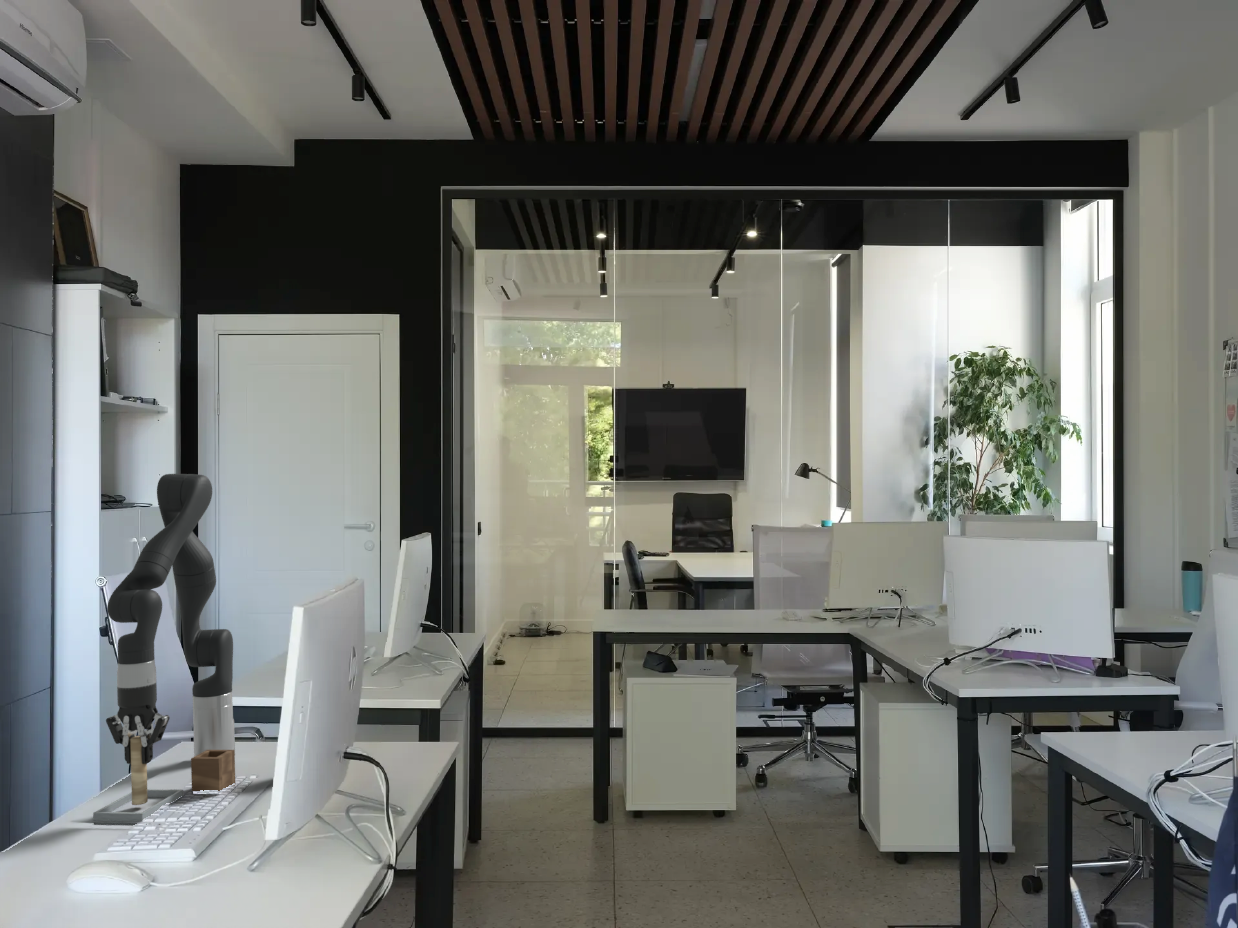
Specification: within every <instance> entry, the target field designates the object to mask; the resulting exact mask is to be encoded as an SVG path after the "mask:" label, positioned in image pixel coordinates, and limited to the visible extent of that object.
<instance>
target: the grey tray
mask: <svg viewBox="0 0 1238 928" xmlns="http://www.w3.org/2000/svg"><path fill="white" fill-rule="evenodd" d="M181 796H183V797H184V789H175V788H174V789H168V788H167V789H164V788H162V789H161V788H160V789H157V788H152V789H151V788H147V797H148V798H164V799H162V800H160V801H159V802H157V803H156V804H154V805H152V806H150V807H148V808H147V809H145V810H143V811H142V812H135V811H134V812H126V811H124V812H123V811H121V812H120V811H119V812H117V811H116V810H117V809H119V808H121V807H123V806H125V805H126V804H129V803H130V802H132V791H131V792H129V793H127V794H126V795H123V796H122V797H120V798H118V799H116V800H113V802H112V801H111V803H109V804H106V805H105V806H103V807H102V808H100V809H97V810H96V811H94V812H93V814H92V815H93V818H92V820H93V826H129V827H130V826H132V827H133V825H135V824H137V823H138V822H143V821H142V820H143V819H144V818H146V817H148V816H150V817H152V816H151V814H153V813H154V812H155V811H157V810H158V809H159V808H160V807H161V806H162V805H165V804H166V803H171V802H173V801H175V800H176V799H178V798H179V797H181ZM175 802H176V801H175ZM94 821H95V822H94ZM97 821H103V822H97ZM104 821H105V822H104ZM108 821H109V822H108ZM110 821H111V822H110ZM112 821H113V822H112ZM116 821H117V822H116Z"/></svg>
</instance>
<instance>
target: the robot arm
mask: <svg viewBox="0 0 1238 928" xmlns="http://www.w3.org/2000/svg"><path fill="white" fill-rule="evenodd" d="M212 485H213V484H212V483H211V480H210V479H209V477H207V476H206V475H204V474H195V473H188V474H187V473H165V474H163V475H162V476H161V477H160V478H159V480H158V481H157V486H156V500H157V504H158V508H159V512H160V515H161V519H162V522H163V525H164V528H162V529H161V530H160V531H159V532H157V533H156V534H155V535H154V536H153V537H151V538H150V539H149V540H148V542H147V543H146V544H145V545H144V547H143V549H142V550H141V552H140V554H139V556H138V558H137V560H136V562H135V565H134V566H133V569H132V570H131V571H130V572H129V573H128V574H127V576H125V578H124V579H123V580H122V581H121V582H120V583H119V584H118V586H117V587H116V588H114V590H113V592H111V595H110V596H109V599H108V602H107V605H106V606H107V608H106V610H107V614H108V617H109V618H110V619H111V621H113V622H115V623H121V624H122V623H125V624H127V623H128V624H129V623H130V624H131V623H136V624H137V625H136V627H135V630H134V631H133V632H131V633H127V634H123V635H121V636H120V637H119V638H118V640H117V671H116V691H117V692H116V695H117V706H118V711H117V713H116V714H115V715H111V716H109V717H108V718H106V719H105V722H106V725H107V727H108V729H109V731H110V734H111V736H112V738H113V741H114V743H115V744H118V745H119V744H121V745H122V746H123V747H124V749H123V750H124V760H125V762H126V764H127V765H131V745H130V738H132V737H134V736H137V735H136V734H138V736H140V737H141V742H142V746H143V747H141V749H142V764H147V765H148V764H149V763H151V762H152V760H153V758H154V749H153V748H154V744H156V743H158V742H159V741H162V738H163V736H164V733H165V731H166V729H167V726H168V724H169V722H170V715H169V714H165V715H163V714H162V713H161V714H160V713H159V711H158V708H157V706H156V705H157V699H158V697H157V695H158V691H157V668H156V662H155V661H156V660H155V641H156V640H155V639H156V634H157V631H158V626H159V622H160V620H161V615H162V612H163V601H162V598H161V596H160V594H159V593H158V592H157V591H155V589H157V588H161V586H163V585H164V583H165V582H166V580H167V578H168V576H169V573H170V571H171V569H172V573H173V574H172V575H173V578H174V585H175V589H176V595H177V599H178V605H179V612H180V618H181V619H180V620H181V629H182V631H181V632H182V641H183V642H182V643H183V653H184V657H185V661H186V663H187V664H188V666H190V667H193V668H207V667H215V671H214V673H213V674H212V675H210V676H208V677H205V678H203V679H200V680H198V681H196V682H194V683H193V685H192V688H191V689H192V692H191V693H192V714H193V715H192V716H193V718H192V720H193V721H192V722H193V723H192V725H193V727H192V728H193V755H194V756H193V757H195V756H197V755H198V754H200V753H202V752H204V751H206V750H235V751H236V745H235V744H236V742H235V738H236V737H235V734H236V733H235V719H234V710H233V709H234V707H233V705H234V704H233V674H234V673H233V672H234V671H233V665H234V664H233V663H234V662H233V661H234V660H233V658H234V639H233V634H232V632H231V631H230V630H229V629H226V628H215V629H201V627H200V626H201V625H200V617H201V615H202V613H203V610H204V608H205V607H206V604H207V602H208V601H209V599H210V598H211V596H212V594H213V592H214V590H215V587H216V585H217V576H216V568H215V563H214V558H213V555H212V554H211V552H210V551H209V549H208V548H207V547H206V545H204V543H203V542H202V541H201V540H200V538H198V536H197V535H196V534H195V532H194V529H195V528H196V526H197V525H198V523H199V521H200V520H201V519H202V517H203V516H204V514H205V513H206V511H207V510H208V508H209V507H210V506H209V505H210V504H211V501H212V497H213V486H212ZM153 723H154V724H153Z"/></svg>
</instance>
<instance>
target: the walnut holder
mask: <svg viewBox="0 0 1238 928" xmlns="http://www.w3.org/2000/svg"><path fill="white" fill-rule="evenodd" d="M235 759H236V749H235V750H206V751H204V752H202V753H200V754H198V755H197V756H195V757H194V756H193V757H191V759H190V770H191V771H190V772H191V773H190V775H191V792H192V791H200V790H203V791H204V790H218V791H220V790H222V789H223V788H226V787H228V786H229V785H232V784H233V783H235V784H236V760H235Z"/></svg>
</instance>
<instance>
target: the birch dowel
mask: <svg viewBox="0 0 1238 928" xmlns="http://www.w3.org/2000/svg"><path fill="white" fill-rule="evenodd" d="M130 745H131V764H130V779H131V780H130V781H131V783H130V785H131V786H130V787H131V792H132V801H131V805H132V806H140V805H145V804H146V803H148V801H149V800H148V798H149V797H147V789H148V766H147V765H148V763H147V764H142V749H141V747H143V746H142V742H141V737H140V736H139V735H136V736H134V737H132V738H130Z"/></svg>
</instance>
